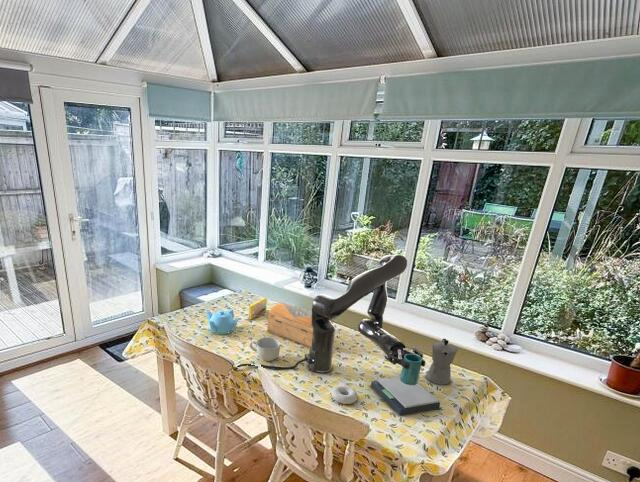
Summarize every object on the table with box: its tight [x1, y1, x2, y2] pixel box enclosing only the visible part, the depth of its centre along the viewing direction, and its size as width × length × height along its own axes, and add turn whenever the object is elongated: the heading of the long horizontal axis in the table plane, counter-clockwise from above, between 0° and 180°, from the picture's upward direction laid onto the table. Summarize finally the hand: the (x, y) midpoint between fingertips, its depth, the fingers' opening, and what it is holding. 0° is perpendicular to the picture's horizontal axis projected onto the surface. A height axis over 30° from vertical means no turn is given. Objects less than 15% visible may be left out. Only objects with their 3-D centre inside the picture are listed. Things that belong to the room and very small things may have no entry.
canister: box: [400, 354, 423, 385], centre depth 155 cm, size 6×6×10 cm
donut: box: [330, 385, 359, 405], centre depth 158 cm, size 10×4×10 cm
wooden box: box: [267, 302, 334, 348], centre depth 208 cm, size 30×16×14 cm, turn 48°
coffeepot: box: [426, 338, 459, 385], centre depth 170 cm, size 15×9×18 cm, turn 159°
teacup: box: [249, 336, 281, 362], centre depth 186 cm, size 14×11×8 cm
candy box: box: [248, 297, 268, 321], centre depth 233 cm, size 16×2×8 cm, turn 147°
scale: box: [370, 375, 441, 416], centre depth 159 cm, size 17×20×3 cm
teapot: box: [205, 308, 239, 336], centre depth 213 cm, size 15×15×11 cm
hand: (416, 365), depth 152 cm, fingers closed on canister, 6 cm apart
